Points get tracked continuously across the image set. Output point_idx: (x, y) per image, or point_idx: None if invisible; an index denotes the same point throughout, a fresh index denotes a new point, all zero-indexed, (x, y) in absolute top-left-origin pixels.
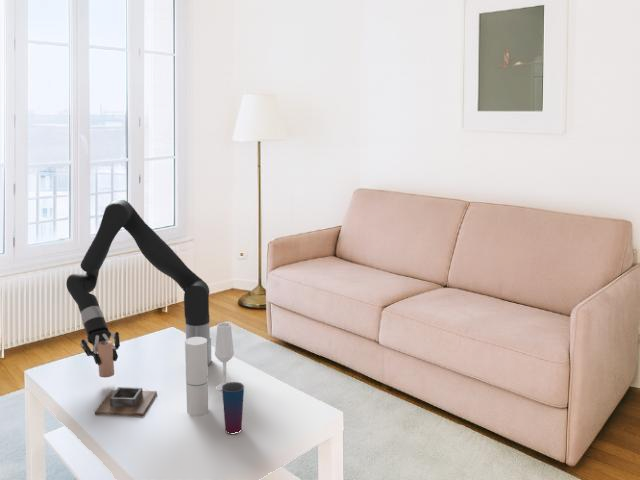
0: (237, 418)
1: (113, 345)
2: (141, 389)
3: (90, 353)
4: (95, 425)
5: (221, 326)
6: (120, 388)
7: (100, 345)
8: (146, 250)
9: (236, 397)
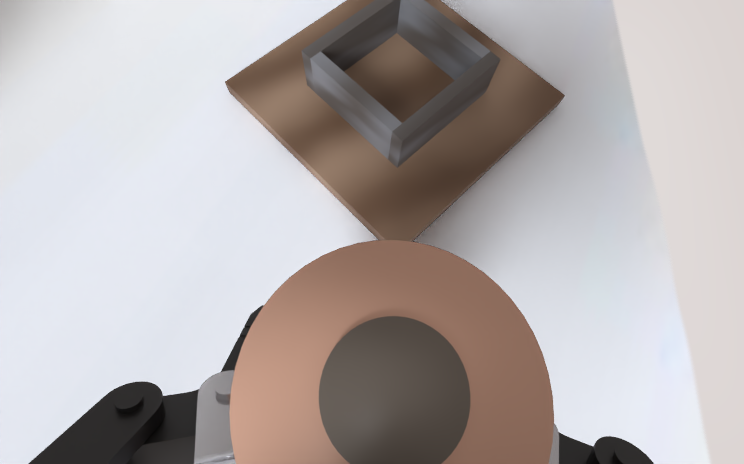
0: None
1: (205, 423)
2: (314, 43)
3: (605, 442)
4: (582, 32)
5: None
6: (398, 122)
7: (506, 342)
8: None
9: None
